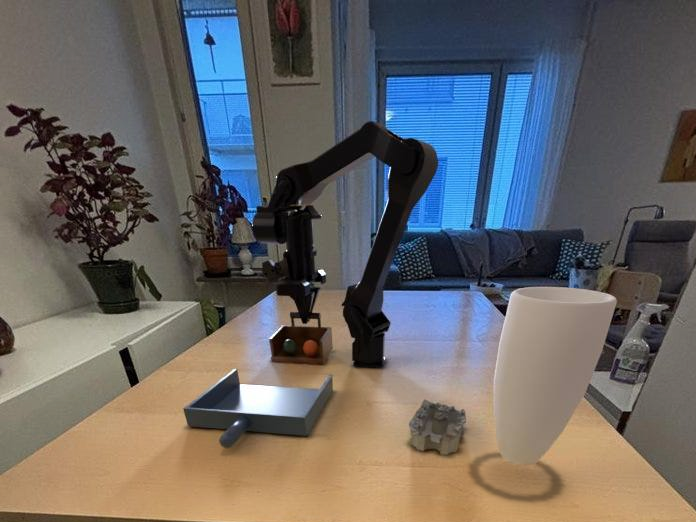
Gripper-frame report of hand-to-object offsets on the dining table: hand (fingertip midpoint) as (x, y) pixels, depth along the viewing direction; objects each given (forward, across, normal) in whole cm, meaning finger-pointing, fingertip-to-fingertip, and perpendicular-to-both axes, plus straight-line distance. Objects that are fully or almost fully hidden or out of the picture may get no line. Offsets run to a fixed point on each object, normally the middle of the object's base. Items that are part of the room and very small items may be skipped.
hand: (305, 322), depth 92 cm
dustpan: (+6, +37, +2) cm, 37 cm away
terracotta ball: (+4, +6, +2) cm, 8 cm away
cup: (+6, +48, +41) cm, 64 cm away
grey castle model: (+6, +39, +31) cm, 50 cm away
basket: (+6, +4, 0) cm, 7 cm away
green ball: (+4, +6, -2) cm, 8 cm away
